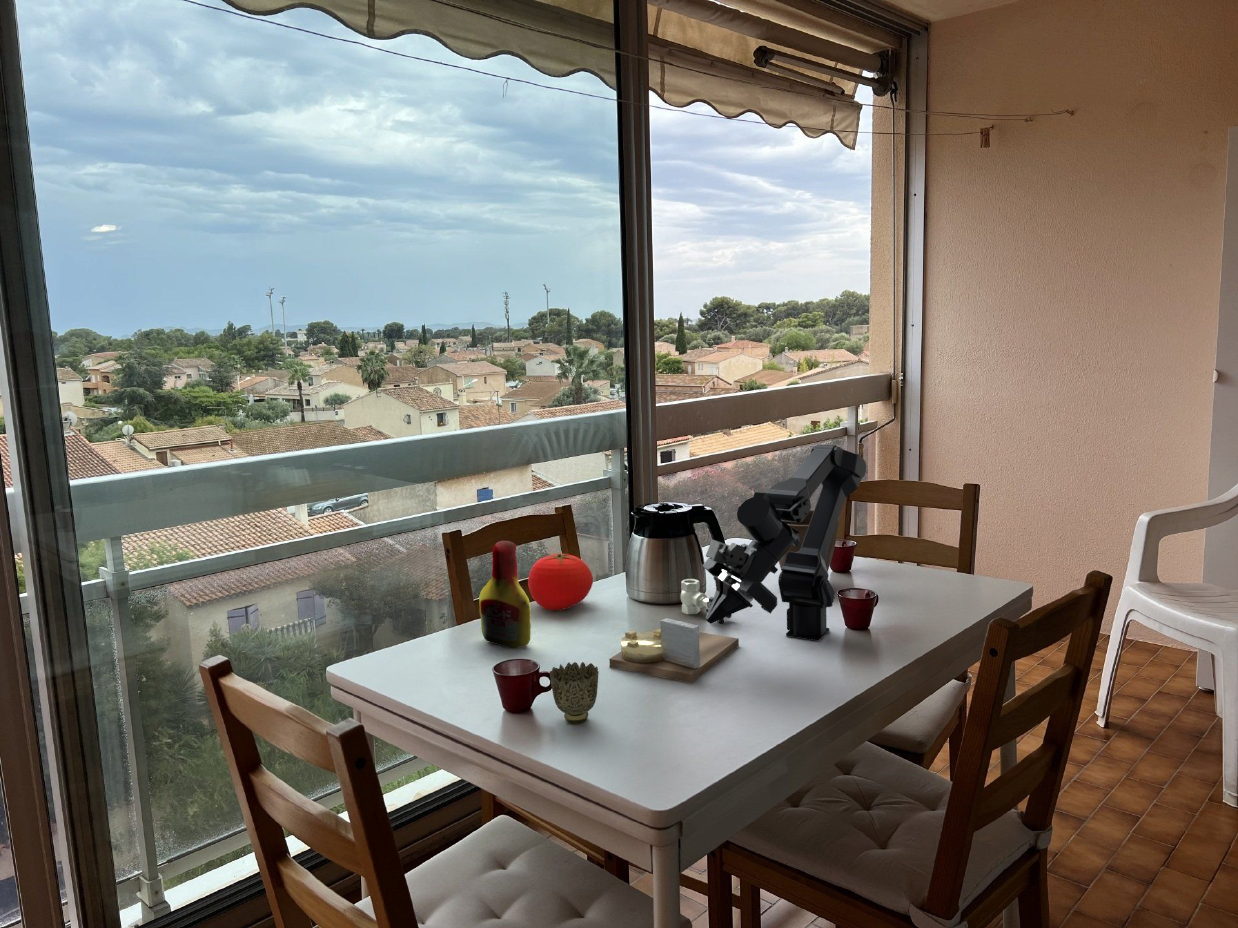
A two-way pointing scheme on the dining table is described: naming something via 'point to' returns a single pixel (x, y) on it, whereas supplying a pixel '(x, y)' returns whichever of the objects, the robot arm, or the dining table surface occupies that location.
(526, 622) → the bottle
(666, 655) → the ring nut spanner
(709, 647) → the walnut base
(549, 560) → the tomato
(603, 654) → the dining table surface
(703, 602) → the valve
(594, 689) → the cup
